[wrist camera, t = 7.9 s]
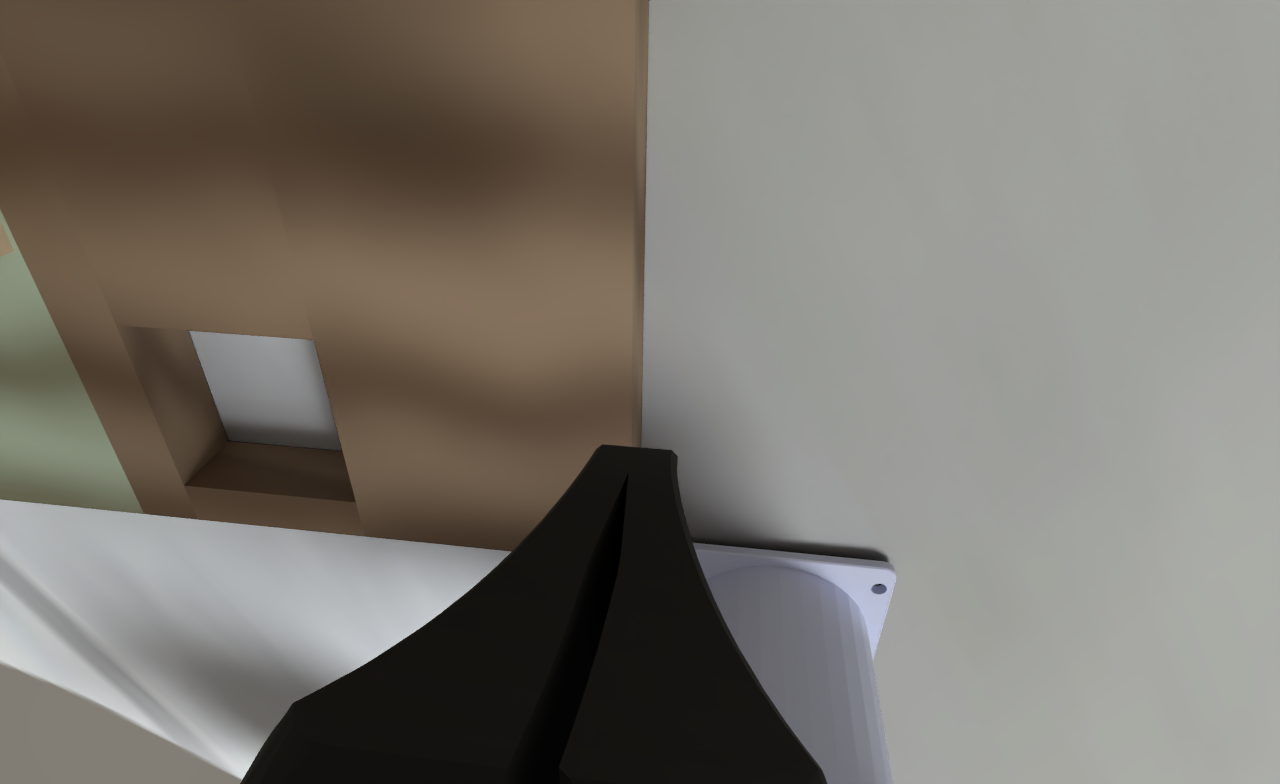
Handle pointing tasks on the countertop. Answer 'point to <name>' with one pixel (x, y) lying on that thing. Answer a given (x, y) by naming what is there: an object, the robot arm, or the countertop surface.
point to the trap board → (323, 253)
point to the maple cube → (4, 242)
